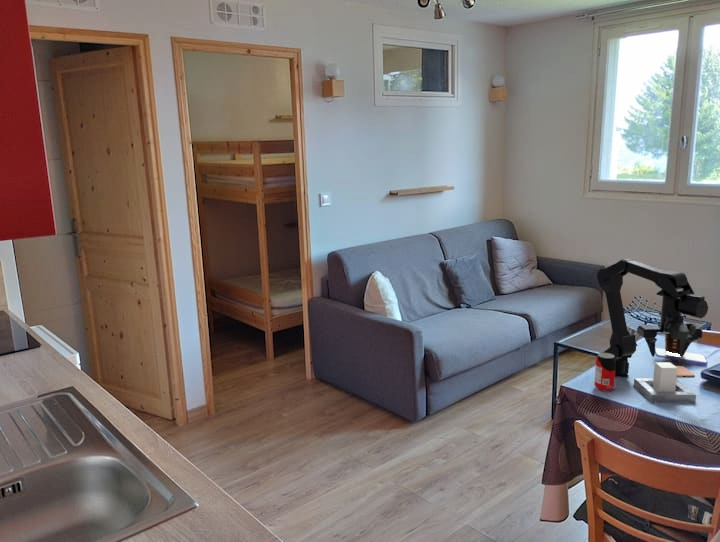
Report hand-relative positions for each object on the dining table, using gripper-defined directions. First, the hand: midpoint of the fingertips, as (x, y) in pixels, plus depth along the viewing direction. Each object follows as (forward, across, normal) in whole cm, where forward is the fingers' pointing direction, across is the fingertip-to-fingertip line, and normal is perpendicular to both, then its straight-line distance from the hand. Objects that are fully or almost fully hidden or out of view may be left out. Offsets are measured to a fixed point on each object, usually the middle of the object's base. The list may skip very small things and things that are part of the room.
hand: (667, 356), depth 188 cm
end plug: (+13, 0, 0) cm, 13 cm away
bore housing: (+13, 0, 0) cm, 13 cm away
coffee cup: (+13, +21, +37) cm, 44 cm away
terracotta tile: (+13, +13, +19) cm, 26 cm away
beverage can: (+13, -18, +4) cm, 23 cm away
